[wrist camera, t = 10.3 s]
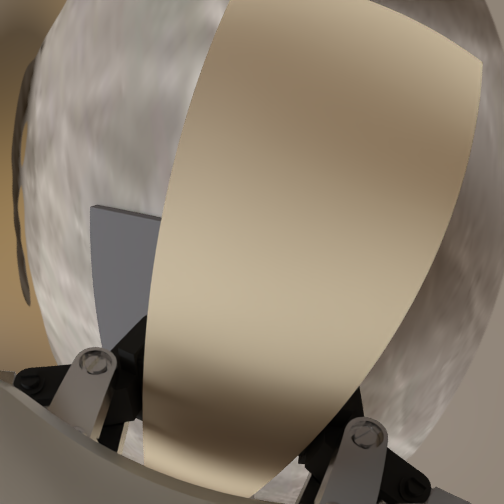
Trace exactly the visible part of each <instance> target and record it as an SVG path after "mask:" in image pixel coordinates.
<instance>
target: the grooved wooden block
mask: <svg viewBox="0 0 504 504" xmlns="http://www.w3.org/2000/svg"><path fill="white" fill-rule="evenodd" d="M482 65H483V62H481V61H480V60H479V59H477V58H476V57H474V56H473V55H472V54H470V53H469V52H467V51H466V50H465V49H463V48H462V47H460V46H459V45H457V44H456V43H454V42H452V41H451V40H449V39H448V38H446V37H444V36H443V35H441V34H439V33H438V32H436V31H434V30H432V29H430V28H429V27H427V26H425V25H423V24H421V23H419V22H417V21H415V20H413V19H411V18H409V17H407V16H405V15H403V14H401V13H398V12H396V11H394V10H392V9H389V8H387V7H384V6H382V5H379V4H377V3H374V2H372V1H369V0H230V1H229V4H228V6H227V8H226V10H225V12H224V15H223V17H222V19H221V22H220V24H219V26H218V29H217V31H216V33H215V36H214V38H213V41H212V43H211V46H210V49H209V51H208V54H207V56H206V59H205V62H204V65H203V67H202V70H201V73H200V76H199V79H198V82H197V85H196V88H195V91H194V94H193V97H192V100H191V103H190V106H189V109H188V113H187V116H186V119H185V123H184V126H183V130H182V133H181V137H180V141H179V144H178V148H177V152H176V156H175V160H174V164H173V168H172V172H171V176H170V181H169V185H168V190H167V194H166V199H165V204H164V209H163V214H162V219H161V224H160V230H159V235H158V241H157V247H156V253H155V260H154V266H153V273H152V281H151V288H150V297H149V306H148V315H147V326H146V338H145V352H144V371H143V448H144V466H146V467H148V468H151V469H153V470H155V471H158V472H160V473H163V474H166V475H168V476H171V477H174V478H176V479H179V480H182V481H185V482H188V483H191V484H194V485H198V486H201V487H204V488H208V489H211V490H215V491H219V492H223V493H227V494H231V495H236V496H241V497H245V498H250V497H251V496H252V495H253V494H255V493H256V492H257V491H258V490H260V489H261V488H262V487H263V486H265V485H266V484H267V483H268V482H269V481H270V480H272V479H273V478H274V477H275V476H276V475H277V474H278V473H280V472H281V471H282V470H283V469H284V468H285V467H286V466H287V465H288V464H289V463H290V462H292V461H293V460H294V459H295V458H296V457H297V456H298V455H299V454H300V453H301V452H302V451H303V450H304V449H305V448H306V447H307V446H308V445H309V444H310V443H311V442H312V441H313V440H314V438H315V437H316V436H317V435H318V434H319V433H320V432H321V431H322V430H323V429H324V428H325V427H326V425H327V424H328V423H329V422H330V421H331V420H332V419H333V417H334V416H335V415H336V414H337V413H338V412H339V410H340V409H341V408H342V407H343V406H344V404H345V403H346V402H347V401H348V399H349V398H350V397H351V396H352V394H353V393H354V392H355V390H356V389H357V388H358V386H359V385H360V384H361V382H362V381H363V380H364V378H365V377H366V376H367V374H368V373H369V372H370V370H371V369H372V367H373V366H374V364H375V363H376V362H377V360H378V359H379V357H380V356H381V354H382V353H383V351H384V350H385V348H386V347H387V345H388V343H389V342H390V340H391V339H392V337H393V335H394V334H395V332H396V331H397V329H398V327H399V326H400V324H401V322H402V320H403V319H404V317H405V315H406V314H407V312H408V310H409V308H410V306H411V305H412V303H413V301H414V299H415V297H416V295H417V293H418V291H419V289H420V287H421V285H422V283H423V281H424V279H425V277H426V275H427V273H428V271H429V269H430V267H431V265H432V263H433V260H434V258H435V256H436V254H437V251H438V249H439V247H440V244H441V242H442V239H443V237H444V234H445V232H446V229H447V227H448V224H449V221H450V219H451V216H452V213H453V210H454V207H455V204H456V201H457V198H458V195H459V192H460V189H461V185H462V182H463V179H464V175H465V171H466V168H467V164H468V160H469V156H470V151H471V147H472V142H473V137H474V132H475V127H476V121H477V115H478V108H479V101H480V92H481V81H482Z"/></svg>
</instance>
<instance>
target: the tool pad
mask: <svg viewBox="0 0 504 504" xmlns="http://www.w3.org/2000/svg"><path fill="white" fill-rule="evenodd" d="M161 219H162V218H160V217H155V216H150V215H145V214H140V213H135V212H130V211H125V210H120V209H115V208H110V207H105V206H100V205H95V206H92V207H90V242H91V263H92V277H93V288H94V297H95V305H96V313H97V320H98V326H99V332H100V338H101V343H102V348H104V349H107V350H109V351H111V350H112V349H113V348H114V346H115V345H116V344H117V343H118V342H119V341H120V340H121V339H122V338H123V337H124V336H125V335H126V334H127V333H128V332H129V331H130V330H131V329H132V328H133V327H134V326H135V325H136V324H137V323H138V322H139V321H140V320H141V319H142V318H143V317H144V316H145V315H148V306H149V297H150V288H151V281H152V273H153V266H154V260H155V253H156V247H157V241H158V235H159V230H160V224H161Z"/></svg>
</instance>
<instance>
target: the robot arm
mask: <svg viewBox="0 0 504 504" xmlns="http://www.w3.org/2000/svg"><path fill="white" fill-rule="evenodd" d="M146 326H147V315H145V316H144V317H143V318H142V319H141V320H140V321H139V322H138V323H137V324H136V325H135V326H134V327H133V328H132V329H131V330H130V331H129V332H128V333H127V334H126V335H125V336H124V337H123V338H122V339H121V340H120V341H119V342H118V343H117V344H116V345H115V346H114V348H113V349H112V350H111V351H109V350H107V349H104V348H99V347H92V348H87V349H84V350H83V351H81V352H80V353H79V354H78V355H77V356H76V358H75V359H74V361H73V363H72V364H70V365H60V366H49V367H36V368H28V369H24V370H22V371H20V372H19V373H18V374H17V375H16V373H15V372H10V371H0V504H283V503H275V502H268V501H262V500H256V499H251V498H245V497H241V496H236V495H231V494H227V493H223V492H219V491H215V490H211V489H208V488H204V487H201V486H198V485H194V484H191V483H188V482H185V481H182V480H179V479H176V478H174V477H171V476H168V475H166V474H163V473H160V472H158V471H155V470H153V469H151V468H148V467H146V466H144V465H141V464H139V463H137V462H135V461H133V460H130V459H128V458H126V457H124V456H122V451H123V446H124V442H125V438H126V434H127V430H128V425H129V421H134V420H135V418H137V419H139V420H142V421H143V371H144V352H145V338H146ZM387 444H388V434H387V431H386V429H385V428H384V426H383V425H382V424H381V423H379V422H378V421H377V420H374V419H372V418H368V417H364V413H363V406H362V400H361V394H360V388H359V386H358V388H357V389H356V390H355V392H354V393H353V394H352V396H351V397H350V398H349V399H348V401H347V402H346V403H345V404H344V406H343V407H342V408H341V409H340V410H339V412H338V413H337V414H336V415H335V416H334V417H333V419H332V420H331V421H330V422H329V423H328V424H327V425H326V427H325V428H324V429H323V430H322V431H321V432H320V433H319V434H318V435H317V436H316V437H315V438H314V440H313V441H312V442H311V443H310V444H309V445H308V446H307V447H306V448H305V449H304V450H303V451H302V452H301V453H300V454H299V455H298V456H299V460H298V464H305V468H306V469H307V470H308V471H309V474H308V477H307V479H306V481H305V483H304V486H303V488H302V490H301V492H300V494H299V496H298V498H297V500H296V502H295V504H471V503H470V502H468V501H466V500H463V499H461V498H459V497H457V496H454V495H452V494H450V493H448V492H446V491H444V490H442V489H440V488H438V487H435V488H433V489H432V488H431V484H430V482H429V480H428V478H427V477H426V476H425V475H424V474H423V473H421V472H420V471H418V470H417V469H416V468H414V467H413V466H412V465H410V464H409V463H407V462H406V461H405V460H403V459H402V458H401V457H399V456H398V455H397V454H395V453H394V452H393V451H391V450H390V449H389V448H387Z"/></svg>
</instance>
